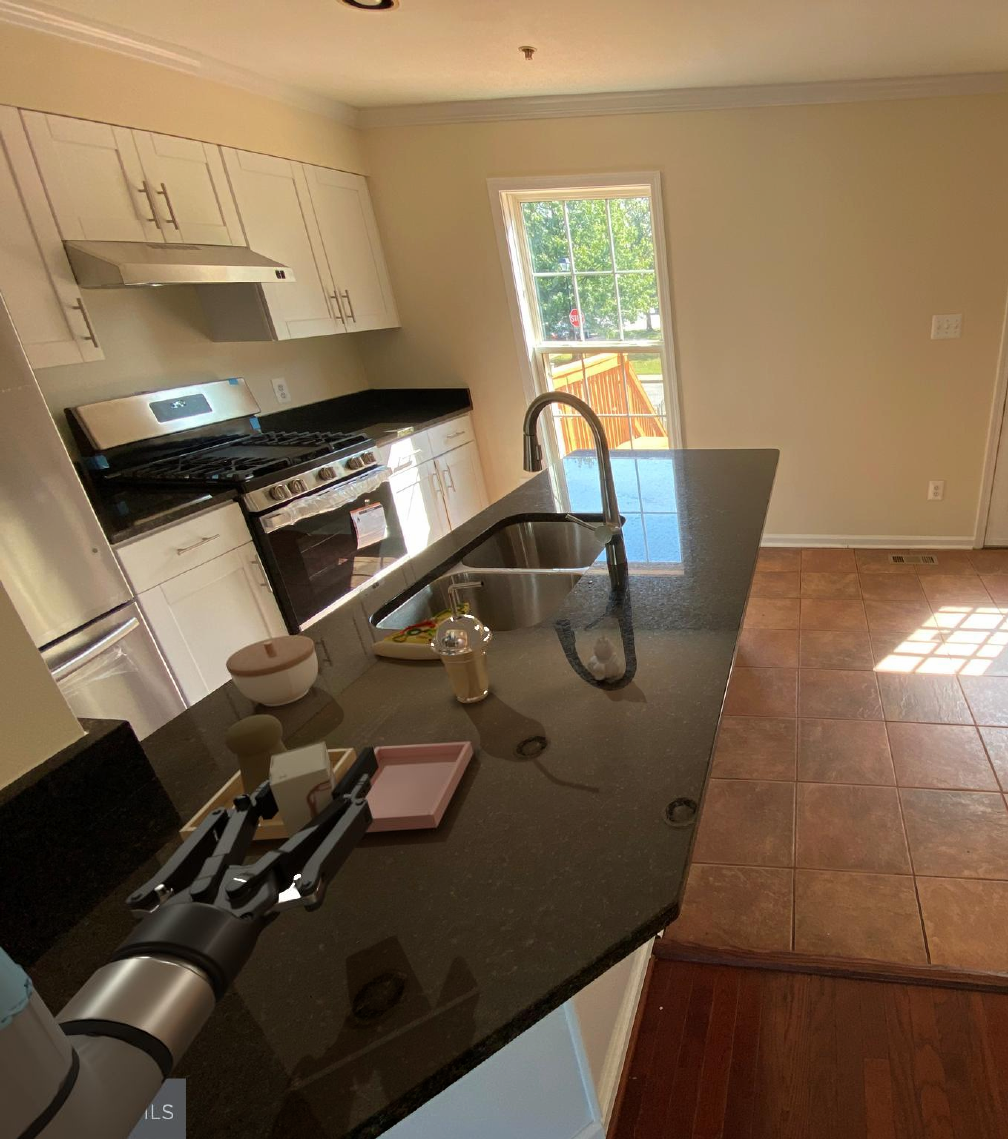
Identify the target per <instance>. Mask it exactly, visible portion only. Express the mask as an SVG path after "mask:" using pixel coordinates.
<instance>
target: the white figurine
mask: <svg viewBox="0 0 1008 1139" xmlns="http://www.w3.org/2000/svg"><path fill="white" fill-rule="evenodd" d="M593 652H594V655H593V656H591V657H590V659H589V660H588V662H587V669H588V672H589V673H590V674H593V676H594V678H595V680H596V681H602V680H604V679H612V678H614V677H616V676H618V675H619V674H620V672H621V671H622V668H623V662H622V659H621V658H620V657H619V654H618V653H616V652H615V646H614V644H613V642H612V641H610V639H609V638H606V635H605V632H602V636H601V638H600V637H598V638H597V639H596V642H595V644H594V646H593Z"/></svg>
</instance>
